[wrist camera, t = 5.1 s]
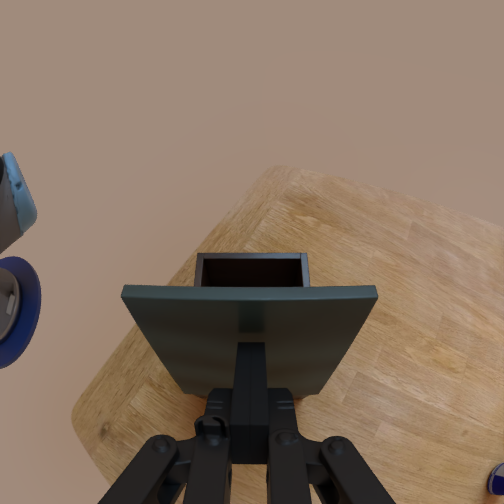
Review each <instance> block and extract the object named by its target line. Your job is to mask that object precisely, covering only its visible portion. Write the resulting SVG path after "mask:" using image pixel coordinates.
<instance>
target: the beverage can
mask: <svg viewBox="0 0 504 504" xmlns="http://www.w3.org/2000/svg"><path fill="white" fill-rule="evenodd" d="M488 491H489V493H490V494H492V495H504V463H501V464H499V465H498V466H496V468H495V469H494V470H493V471H492V473H491V475H490V477H489V480H488Z"/></svg>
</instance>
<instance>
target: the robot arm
mask: <svg viewBox="0 0 504 504" xmlns="http://www.w3.org/2000/svg"><path fill="white" fill-rule="evenodd" d="M36 219H37V210H36V207H35V204H34V201H33V199H32V196H31V194H30V192H29V189H28V187H27V185H26V182H25V180H24V177H23V175H22V173H21V171H20V168H19V166H18V163H17V161H16V159H15V157H14V156H13V154H12V153H11V152H8V153H6V154H3V155H2V157H0V254H1V253H2V252H3V251H4V250H5V249H7V248H8V247H9V246H10V245H11V244H12V243H14V242H15V241H16V240H17V239H18V238H20V237H21V236H23V233H24V232H26V231H27V230H28V229H29V228H30V227H31V226H32V225H33V224H34V223H35V221H36ZM22 301H23V294H22V288H21V285H20V282H19V280H18V279H17V278H16V277H15V276H14V275H13V274H12V273H11V272H10V271H8V270H6V269H3V268H0V345H1V344H2V343H4V342H5V341H6V340H7V339H8V338H9V336H10V335H11V334H12V332H13V331H14V329H15V327H16V325H17V323H18V320H19V317H20V314H21V309H22ZM194 426H195V432H196V436H195V437H193V438H191V439H187V440H182V441H176V440H175V439H174V438H172V437H170V436H168V435H156V436H153V437H151V438H150V439H148V440H147V441H146V443H145V444H144V445H143V447H142V448H141V449H140V451H139V452H138V453H137V454H136V456H135V457H134V458H133V460H132V461H131V462H130V463H129V465H128V466H127V467H126V469H125V470H124V471H123V472H122V474H121V475H120V476H119V477H118V479H117V480H116V481H115V483H114V484H113V485H112V486H111V488H110V489H109V490H108V491H107V493H106V494H105V495H104V497H103V498H102V499H101V500H100V501H99V503H98V504H175V502H176V500H177V499H178V497H179V495H180V494H181V492H182V490H183V488H184V486H185V485H186V483H187V485H186V490H185V495H184V500H183V504H230V495H231V481H232V464H267V473H266V483H267V504H312V501H311V494H310V488H309V484H312V485H313V487H314V489H315V491H316V493H317V495H318V497H319V499H320V501H321V503H322V504H396V503H395V502H394V500H393V499H392V498H391V496H390V495H389V494H388V492H387V491H386V490H385V488H384V487H383V485H382V484H381V483H380V481H379V480H378V479H377V477H376V476H375V474H374V473H373V472H372V470H371V469H370V467H369V466H368V465H367V463H366V462H365V460H364V459H363V458H362V456H361V455H360V453H359V452H358V451H357V449H356V448H355V446H354V445H353V444H352V442H351V441H350V440H348V439H347V438H344V437H341V436H332V437H329V438H327V439H325V440H324V441H323V442H317V441H312V440H308V439H306V438H304V437H303V436H302V435H301V434H300V433H299V431H298V427H297V420H296V414H295V409H294V403H293V396H292V393H291V392H290V391H289V390H288V388H267V371H266V353H265V342H238V345H237V355H236V364H235V374H234V383H233V388H213V390H212V391H211V392H210V393H209V394H208V399H207V404H206V409H205V413H204V415H203V416H200V417H199V418H198V419H196V421H195V423H194Z"/></svg>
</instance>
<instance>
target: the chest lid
mask: <svg viewBox="0 0 504 504" xmlns="http://www.w3.org/2000/svg"><path fill="white" fill-rule="evenodd" d="M121 298H122V300H123V302H124V303H125V305H126V307H127V308H128V310H129V311H130V313H131V315H132V317H133V318H134V320H135V322H136V323H137V325H138V326H139V328H140V330H141V331H142V333H143V334H144V336H145V338H146V339H147V341H148V342H149V344H150V345H151V347H152V348H153V350H154V351H155V353H156V354H157V356H158V357H159V359H160V360H161V362H162V363H163V365H164V366H165V367H166V369H167V370H168V372H169V373H170V375H171V376H172V377H173V379H174V380H175V382H176V383H177V384H178V386H179V387H180V388H181V390H182V391H183V392H184V393H185V394H197V395H208V394H209V393H210V392H211V391H212V390H213V388H233V383H234V374H235V364H236V355H237V345H238V342H265V353H266V371H267V388H288V390H289V391H290V392H291V393H292V396H297V395H315V394H319V393H320V391H321V390H322V388H323V387H324V385H325V384H326V382H327V381H328V380H329V378H330V377H331V375H332V374H333V372H334V371H335V369H336V368H337V366H338V365H339V363H340V361H341V360H342V358H343V357H344V355H345V354H346V352H347V350H348V349H349V347H350V346H351V344H352V342H353V341H354V339H355V338H356V336H357V334H358V333H359V331H360V329H361V328H362V326H363V324H364V322H365V321H366V319H367V317H368V315H369V314H370V312H371V310H372V308H373V307H374V305H375V303H376V301H377V299H378V294H377V290H376V286H375V285H366V286H326V287H191V286H151V285H124V287H123V291H122V294H121Z"/></svg>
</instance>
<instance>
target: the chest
mask: <svg viewBox="0 0 504 504" xmlns="http://www.w3.org/2000/svg"><path fill="white" fill-rule="evenodd" d="M194 287H310V279H309V268H308V258H307V253H197V261H196V270H195V279H194ZM194 395H196V396H198V397H200V398H207V399H208V395H197V394H194ZM307 396H309V395H297V396H293V399H303V398H305V397H307Z"/></svg>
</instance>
